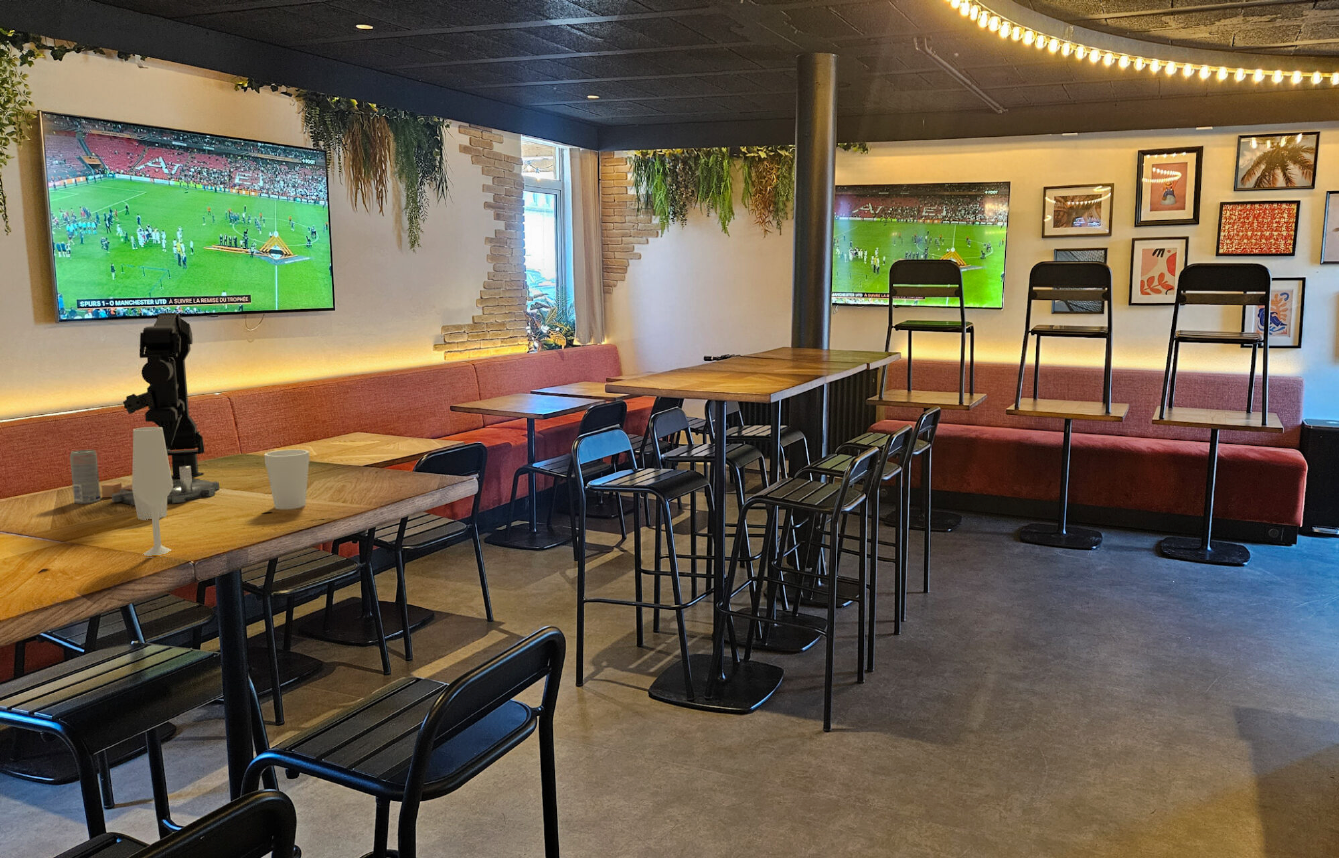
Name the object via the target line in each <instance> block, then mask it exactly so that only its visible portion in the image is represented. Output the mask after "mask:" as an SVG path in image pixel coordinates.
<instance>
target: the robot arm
mask: <svg viewBox="0 0 1339 858" xmlns="http://www.w3.org/2000/svg"><path fill="white" fill-rule="evenodd" d="M192 331H193V330H192V328H191V325H190V323H189V322H187V321H185V320H184V319H182V318H181V315H180V313H177V312H160V313H157V314H156V320H155V322H154V324H153V325H152V326H145V327H144V328H143V330H142V332H140V334H139V358H140V359H143V358H144V359H147V360H146V363H145V364H144V365H143V366H142V369H141V377H142V379H143V380H144V381H145V382H146V383H147V384H149V386H147V388H146V392H143V393H141V394H138V395H137V394H135V393H132V394H131V395H126V397H125V398H126V399H125V400H123V402H122V403H123V405H124V406H123V408H124V409H126V411H127V413H128V415H132V414H134V413H135V412H136V411H139V410H142V409H144V408H147V407H148V410H146V412H145V413H144V418H145V422H147V423H151V422H152V423H154V424H155V425H157V427H162V428H163V434H164V439H165V444H166V450H167V455H168V457H169V456H171V467H172V468H171V470H172V474H171V477H172V479H176V478H180V470H179V467H181V466H191V476H192V479H194V478H196V477H200V476H203V475H204V472H199V466H198V465H199V463H198V455H201V454H205V443H204V439H203V436H202V435H201V433H200V431H199V430H198V427H197V423H196V422H195V421H194V419H193V418H192V417H191V416H190V410H189V397H188V394H189V393H188V387H187V386H188V385H187V372H186V369H187V368H186V358H187V357H188V355H189V353H190V352H191V349H192V348H191V345H193V343H194V342H193V332H192ZM199 475H200V476H199ZM193 477H194V478H193Z"/></svg>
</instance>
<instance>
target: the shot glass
mask: <svg viewBox="0 0 1339 858" xmlns="http://www.w3.org/2000/svg"><path fill="white" fill-rule="evenodd" d="M132 491H133V490H132ZM133 496H134V501H135V505H134V506H135V510H136V517H137V520H139V519H141V520H140V521H149V520H148V519H152V514H151V505H149V504H146V503H145V502H144V501H142V500H141V499H139V498H138V497H137V496H136V495H135V494H134V492H133ZM158 512H159V519H162V517H163V518H165V517H167V516H168V503H167V497H166V498H165V499H164V500H163V501H162V502H161V503H160V504H158ZM146 519H147V520H146Z"/></svg>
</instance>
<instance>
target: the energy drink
mask: <svg viewBox="0 0 1339 858" xmlns="http://www.w3.org/2000/svg"><path fill="white" fill-rule="evenodd" d="M69 459H70V471H71V480H72V481H71V482H72V490H73V491H72V492H73V493H72V494H73V502H74V503H75V504H79V505H86V504H94V503H98V502H100V500H101V499H102V497H101V490H100V489H101V487H100V479H99V478H100V477H99V467H98V454H97V452H96V450H95V449H82V450H81V449H80V450H74V451H73V450H72V451H70V455H69Z"/></svg>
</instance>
